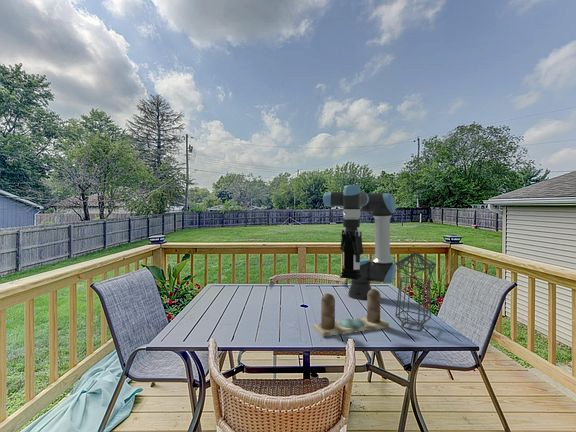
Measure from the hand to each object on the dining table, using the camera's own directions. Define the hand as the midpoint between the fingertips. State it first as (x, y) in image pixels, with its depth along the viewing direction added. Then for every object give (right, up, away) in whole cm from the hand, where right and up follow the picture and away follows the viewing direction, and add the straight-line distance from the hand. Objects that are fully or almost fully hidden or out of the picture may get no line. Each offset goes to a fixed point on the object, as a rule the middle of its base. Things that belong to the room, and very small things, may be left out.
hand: (350, 267), depth 140 cm
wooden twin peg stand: (0, -28, 0) cm, 28 cm away
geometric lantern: (+30, -28, +2) cm, 41 cm away
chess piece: (0, -5, 0) cm, 5 cm away
